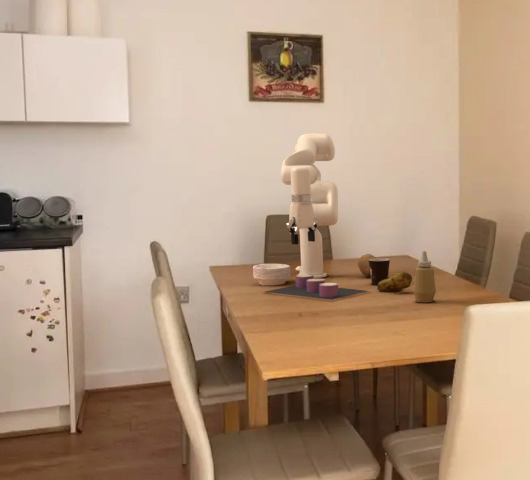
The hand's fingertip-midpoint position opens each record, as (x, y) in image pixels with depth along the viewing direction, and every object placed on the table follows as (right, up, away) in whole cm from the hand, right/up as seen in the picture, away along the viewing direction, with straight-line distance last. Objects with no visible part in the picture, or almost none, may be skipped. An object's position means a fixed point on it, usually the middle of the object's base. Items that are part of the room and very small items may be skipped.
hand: (303, 242), depth 307 cm
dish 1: (0, -17, +3) cm, 17 cm away
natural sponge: (+25, -11, +30) cm, 41 cm away
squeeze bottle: (+47, -25, -29) cm, 61 cm away
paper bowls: (-14, -16, +13) cm, 25 cm away
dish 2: (+12, -22, -19) cm, 31 cm away
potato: (+36, -20, -10) cm, 43 cm away
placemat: (+6, -20, -8) cm, 23 cm away
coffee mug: (+30, -15, +12) cm, 36 cm away
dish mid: (+6, -20, -8) cm, 22 cm away
